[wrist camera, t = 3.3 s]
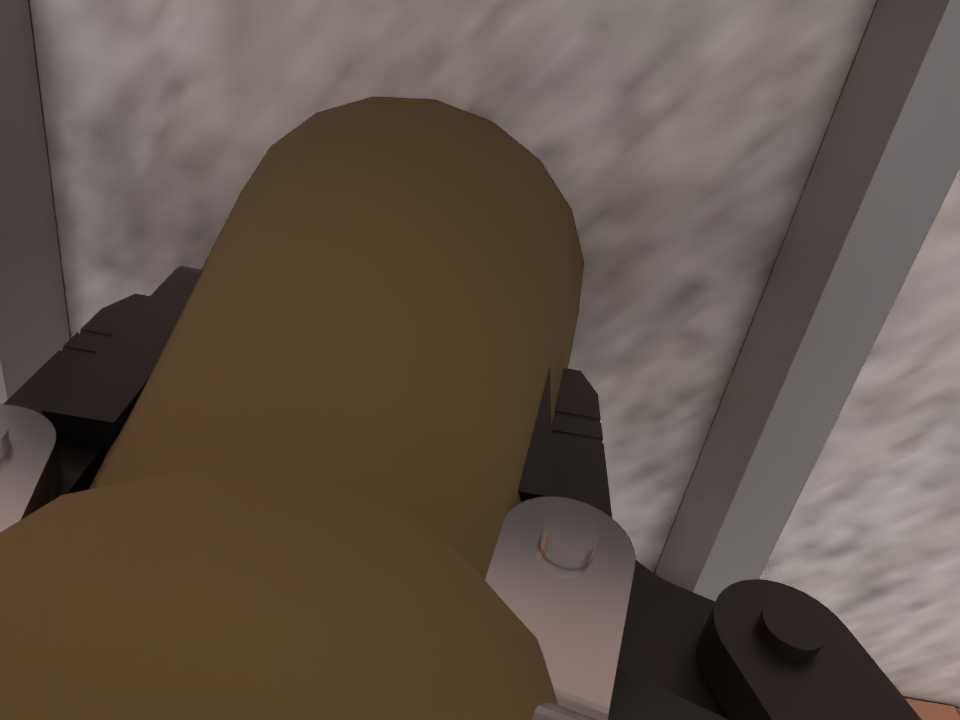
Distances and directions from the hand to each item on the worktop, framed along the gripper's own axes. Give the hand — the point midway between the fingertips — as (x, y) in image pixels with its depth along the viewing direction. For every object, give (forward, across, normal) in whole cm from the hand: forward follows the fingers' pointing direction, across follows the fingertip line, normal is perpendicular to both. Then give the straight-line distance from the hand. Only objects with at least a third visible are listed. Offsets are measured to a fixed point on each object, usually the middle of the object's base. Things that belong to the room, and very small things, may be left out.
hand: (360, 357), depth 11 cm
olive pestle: (+3, 0, 0) cm, 3 cm away
